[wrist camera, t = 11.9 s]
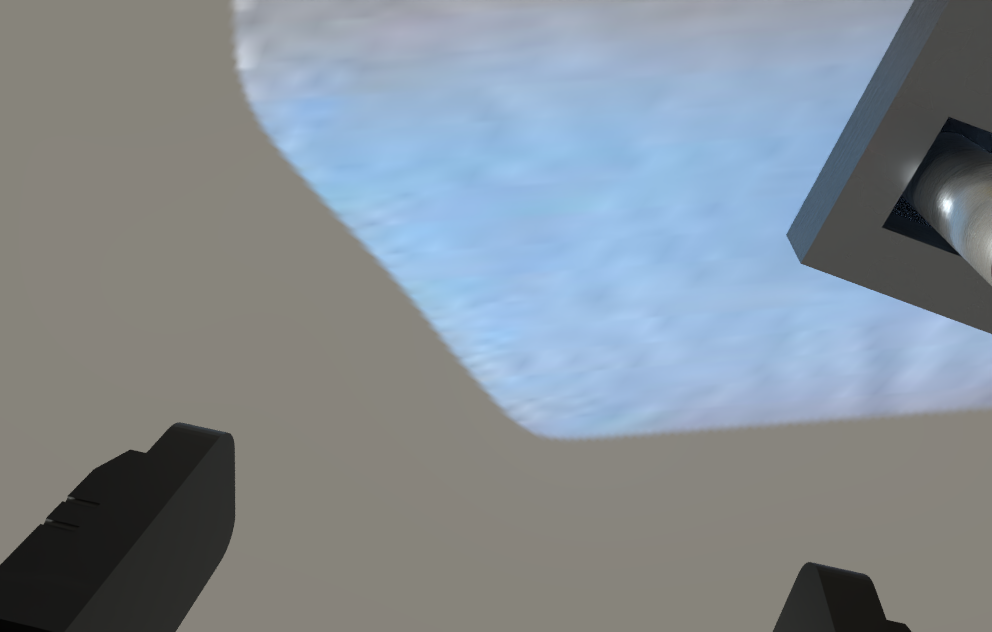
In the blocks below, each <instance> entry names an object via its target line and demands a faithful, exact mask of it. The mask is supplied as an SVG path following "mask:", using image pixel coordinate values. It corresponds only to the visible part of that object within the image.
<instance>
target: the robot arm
mask: <svg viewBox="0 0 992 632" xmlns="http://www.w3.org/2000/svg"><path fill="white" fill-rule="evenodd" d="M234 522H235V448H234V439H233V437H232V435H231V434H230V433H226V432H222V431H217V430H213V429H208V428H204V427H198V426H194V425H190V424H185V423H175V424H174V425H172V426H171V427H170V428H169V429H168V430H167V431H166V432H165V433H164V434H163V436H161V438H160V439H159V440H158V441H157V442H156V443H155V444H154V445H153V446H152V448H151V449H150V450H149V451H148V452H147V453H143V452H138V451H134V450H129V451H127V452H125V453H123V454H121V455H119V456H118V457H116V458H114V459H112V460H110V461H108V462H107V463H105V464H103V465H101V466H99V467H97V468H95V469H94V470H93V471H92V472H91V473H90V474H89V475H88V476H87V477H86V478H85V479H84V480H83V481H82V482H81V483H80V484H79V485H78V486H77V487H76V488H75V489H74V490H73V491H72V492H71V493H70V494H69V495H68V498H67V500H66V502H61V504H59V506H58V507H56V508H55V509H54V511H53V512H52V513H51V514H50V515H49V516H48V517H47V518H46V521H45V523H44V525H42V524H40V525H39V526H38V527H37V528H36V529H35V530H34V531H33V532H32V533H31V534H30V535H29V536H28V537H27V538H26V539H25V540H24V541H23V542H22V543H21V544H20V545H19V546H18V548H16V549H15V550H14V551H13V552H12V553H11V555H10V556H9V557H8V558H7V559H6V560H5V561H4V562H3V563H2V564H1V565H0V632H176V630H177V629H178V627H179V625H180V624H181V622H182V621H183V619H184V618H185V616H186V615H187V613H188V611H189V610H190V608H191V607H192V605H193V604H194V602H195V601H196V599H197V597H198V596H199V594H200V593H201V591H202V590H203V588H204V586H205V585H206V583H207V582H208V580H209V579H210V577H211V575H212V574H213V572H214V571H215V569H216V567H217V566H218V564H219V563H220V561H221V559H222V558H223V556H224V554H225V552H226V550H227V547H228V545H229V542H230V539H231V536H232V532H233V527H234ZM773 632H911V630H910V629H909V628H908V627H907V626H906V624H903V623H898V622H894V621H889V620H886V617H885V614H884V612H883V609H882V606H881V603H880V601H879V598H878V595H877V592H876V589H875V587H874V584H873V582H872V580H871V579H870V577H868V576H867V575H865V574H862V573H857V572H853V571H848V570H844V569H839V568H835V567H830V566H825V565H821V564H816V563H811V562H808V563H806V564H805V565H804V566H803V567H802V568H801V570H800V572H799V574H798V576H797V578H796V581H795V583H794V585H793V587H792V590H791V592H790V594H789V596H788V599H787V601H786V603H785V605H784V608H783V610H782V612H781V614H780V617H779V619H778V621H777V623H776V626H775V628H774V630H773Z"/></svg>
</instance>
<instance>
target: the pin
mask: <svg viewBox="0 0 992 632" xmlns="http://www.w3.org/2000/svg"><path fill="white" fill-rule="evenodd" d="M902 197H903V198H904V199H905V200H906V201H907V202H908V203H909V204H910V205H911V206H912V207H913V208H914V209H915V210H916V211H917V212H918V213H919V214H920V215H921V216H922V217H923V218H924V219H925V220H926V221H927V222H928V223H929V224H930V225H931V226H932V227H933V228H934V229H935V230H936V231H937V232H938V233H939V234H940V235H941V236H942V237H943V238H944V239H945V240H946V241H947V242H948V243H949V244H950V245H951V246H952V247H953V248H954V249H955V250H956V251H957V252H958V253H959V254H960V255H961V256H962V257H963V258H964V259H965V260H966V261H967V262H968V263H969V264H970V265H971V266H972V267H973V268H974V269H975V270H976V271H977V272H978V273H979V274H980V275H981V276H982V277H983V278H984V279H985V280H986V281H987V282H988V283H989V284H990V285H991V286H992V154H991V153H990V152H988V151H987V150H985V149H984V148H982V147H980V146H979V145H977V144H976V143H974V142H973V141H971V140H969V139H968V138H966V137H965V136H963V135H960V134H957V133H954V132H939V134H938V135H937V137H936V139H935V140H934V142H933V144H932V145H931V147H930V149H929V150H928V152H927V153H926V155H925V157H924V158H923V160H922V162H921V163H920V165H919V167H918V168H917V170H916V172H915V173H914V175H913V177H912V178H911V180H910V182H909V183H908V185H907V186H906V188H905V190H904V191H903V193H902Z"/></svg>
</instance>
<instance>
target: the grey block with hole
mask: <svg viewBox="0 0 992 632" xmlns="http://www.w3.org/2000/svg"><path fill="white" fill-rule="evenodd" d="M948 117H951V118H953V119H956V120H959V121H962V122H964V123H967V124H970V125H972V126H975V127H978V128H980V129H983V130H986V131H988V132H991V133H992V0H914V2H913V4H912V6H911V7H910V9H909V11H908V13H907V15H906V17H905V18H904V20H903V22H902V24H901V26H900V28H899V29H898V31H897V33H896V35H895V37H894V39H893V40H892V42H891V44H890V46H889V48H888V50H887V51H886V53H885V55H884V57H883V59H882V61H881V62H880V64H879V66H878V68H877V70H876V72H875V73H874V75H873V77H872V79H871V81H870V83H869V84H868V86H867V88H866V90H865V92H864V94H863V95H862V97H861V99H860V101H859V103H858V105H857V106H856V108H855V110H854V112H853V114H852V116H851V117H850V119H849V121H848V123H847V125H846V127H845V128H844V130H843V132H842V134H841V136H840V138H839V139H838V141H837V143H836V145H835V147H834V149H833V150H832V152H831V154H830V156H829V158H828V160H827V161H826V163H825V165H824V167H823V169H822V171H821V172H820V174H819V176H818V178H817V180H816V182H815V183H814V185H813V187H812V189H811V191H810V193H809V194H808V196H807V198H806V200H805V202H804V204H803V205H802V207H801V209H800V211H799V213H798V215H797V216H796V218H795V220H794V222H793V224H792V226H791V227H790V229H789V231H788V233H787V237H788V239H789V241H790V243H791V245H792V247H793V249H794V251H795V253H796V255H797V257H798V259H799V261H800V263H801V264H803V265H806V266H809V267H812V268H814V269H817V270H820V271H822V272H825V273H828V274H831V275H833V276H836V277H839V278H841V279H844V280H847V281H850V282H852V283H855V284H858V285H860V286H863V287H866V288H869V289H871V290H874V291H877V292H879V293H882V294H885V295H888V296H890V297H893V298H896V299H898V300H901V301H904V302H907V303H909V304H912V305H915V306H917V307H920V308H923V309H926V310H928V311H931V312H934V313H936V314H939V315H942V316H945V317H947V318H950V319H953V320H955V321H958V322H961V323H964V324H966V325H969V326H972V327H974V328H977V329H980V330H983V331H985V332H988V333H991V334H992V286H991V285H990V284H989V283H988V282H987V281H986V280H985V279H984V278H983V277H982V276H981V275H980V274H979V273H978V272H977V271H976V270H975V269H974V268H973V267H972V266H971V265H970V264H969V263H968V262H967V261H966V260H965V259H964V258H963V257H962V256H961V255H960V254H959V253H958V252H957V251H956V250H955V249H954V248H953V247H952V246H951V245H950V244H949V243H948V242H947V241H946V240H945V239H944V238H943V237H942V236H941V235H940V234H939V233H938V232H937V231H936V230H935V229H934V228H931V227H929V226H926V225H923V224H921V223H918V222H915V221H913V220H910V219H907V218H904V217H902V216H899V215H896V214H894V213H891V211H892V210H893V208H894V206H895V205H896V203H897V201H898V200H899V198H900V196H901V195H902V193H903V191H904V190H905V188H906V186H907V185H908V183H909V182H910V180H911V178H912V177H913V175H914V173H915V172H916V170H917V168H918V167H919V165H920V163H921V162H922V160H923V158H924V157H925V155H926V153H927V152H928V150H929V149H930V147H931V145H932V144H933V142H934V140H935V139H936V137H937V135H938V134H939V132H940V130H941V129H942V127H943V125H944V124H945V122H946V120H947V119H948Z"/></svg>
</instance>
